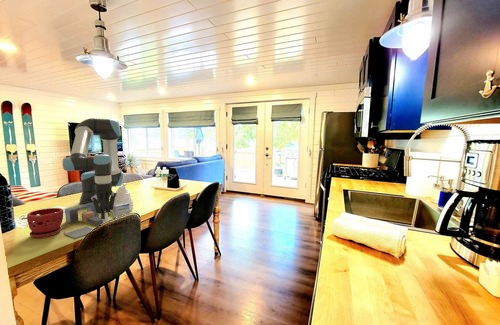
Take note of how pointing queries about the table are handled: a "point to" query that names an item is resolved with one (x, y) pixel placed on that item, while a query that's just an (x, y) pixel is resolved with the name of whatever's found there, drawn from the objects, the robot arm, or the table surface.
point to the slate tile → (79, 232)
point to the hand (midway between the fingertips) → (105, 223)
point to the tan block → (87, 215)
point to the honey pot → (123, 196)
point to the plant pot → (45, 222)
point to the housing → (72, 212)
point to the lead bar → (95, 220)
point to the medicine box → (121, 209)
